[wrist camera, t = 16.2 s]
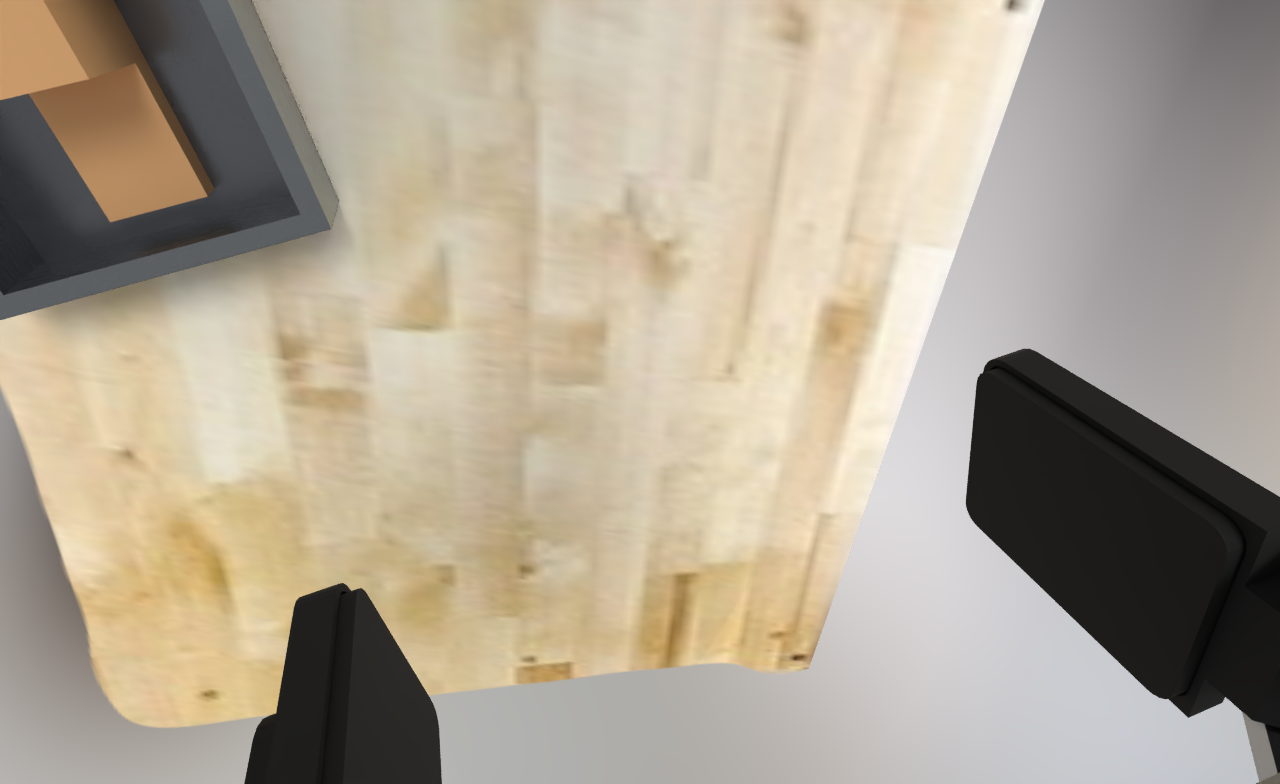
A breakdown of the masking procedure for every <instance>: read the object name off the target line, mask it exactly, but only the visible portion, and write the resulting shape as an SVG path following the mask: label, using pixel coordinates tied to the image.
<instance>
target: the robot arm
mask: <svg viewBox="0 0 1280 784" xmlns="http://www.w3.org/2000/svg"><path fill="white" fill-rule="evenodd" d="M972 430H973V431H972V441H971V451H970V462H969V473H968V484H967V495H966V507H967V511H968V513H969V515H970V517H971V519H972V520H973V521H974V523H975V524H976V525H977V526H978V527H979V528H980V529H981V530H982V531H983V532H984V533H985V534H986V535H987V536H988V537H989V538H990V539H991V540H992V541H993V542H994V543H995V544H996V545H998V547H1000V548H1001V549H1002V550H1003V551H1004V552H1005V553H1006V554H1007V555H1008V556H1009V557H1010V558H1011V559H1012V560H1013V561H1014V562H1015V563H1016V564H1017V565H1018V566H1019V567H1020V568H1021V569H1022V570H1024V572H1026V573H1027V574H1028V575H1029V576H1030V577H1031V578H1032V579H1033V580H1034V581H1035V582H1036V583H1037V584H1038V585H1039V586H1040V587H1041V588H1042V589H1043V590H1044V591H1045V592H1046V593H1047V594H1049V596H1051V597H1052V598H1053V599H1054V600H1055V601H1056V602H1057V603H1058V604H1059V605H1060V606H1061V607H1062V608H1063V609H1064V610H1065V611H1066V612H1067V613H1068V614H1069V615H1070V616H1071V617H1072V618H1073V619H1074V620H1076V621H1077V622H1078V623H1079V624H1080V625H1081V626H1082V627H1083V628H1084V629H1085V630H1086V631H1087V632H1088V633H1089V634H1090V635H1091V636H1092V637H1093V638H1094V639H1095V640H1096V641H1097V642H1098V643H1099V644H1100V645H1102V646H1103V647H1104V648H1105V649H1106V650H1107V651H1108V652H1109V653H1110V654H1111V655H1112V656H1113V657H1114V658H1115V659H1116V660H1117V661H1118V662H1119V663H1120V664H1121V665H1122V666H1123V667H1124V668H1126V670H1128V671H1129V672H1130V673H1131V674H1132V675H1133V676H1134V677H1135V678H1136V679H1137V680H1138V681H1139V682H1140V683H1141V684H1142V685H1143V686H1144V687H1145V688H1146V689H1147V690H1149V691H1150V692H1151V693H1152V694H1154V695H1156V696H1158V697H1159V698H1163V699H1169V700H1170V701H1171V702H1172V703H1173V704H1174V705H1175V706H1177V707H1178V708H1179V709H1180V710H1181V711H1182V712H1183V713H1184V714H1185V715H1186V716H1187V717H1191V716H1193V715H1196V714H1198V713H1200V712H1202V711H1204V710H1207V709H1209V708H1211V707H1213V706H1216V705H1218V704H1220V703H1222V702H1223V700H1224V698H1225V697H1226V698H1227V699H1229V700H1230V701H1231V702H1232V703H1233V704H1234V705H1235V706H1236V707H1238V708H1239V709H1240V710H1241V711H1242V712H1243V717H1244V721H1245V725H1246V729H1247V733H1248V737H1249V741H1250V745H1251V750H1252V753H1253V758H1254V762H1255V766H1256V770H1257V774H1258V778H1259V783H1256V784H1280V497H1279V496H1277V495H1276V494H1274V493H1272V492H1270V491H1269V490H1267V489H1265V488H1264V487H1262V486H1260V485H1259V484H1257V483H1255V482H1254V481H1252V480H1250V479H1249V478H1247V477H1245V476H1244V475H1242V474H1240V473H1239V472H1237V471H1235V470H1234V469H1232V468H1230V467H1229V466H1227V465H1225V464H1223V463H1222V462H1220V461H1219V460H1217V459H1215V458H1213V457H1212V456H1210V455H1209V454H1207V453H1205V452H1204V451H1202V450H1200V449H1199V448H1197V447H1195V446H1193V445H1192V444H1190V443H1188V442H1187V441H1185V440H1183V439H1182V438H1180V437H1178V436H1177V435H1175V434H1173V433H1172V432H1170V431H1168V430H1167V429H1165V428H1163V427H1161V426H1160V425H1158V424H1157V423H1155V422H1153V421H1152V420H1150V419H1148V418H1147V417H1145V416H1143V415H1142V414H1140V413H1138V412H1137V411H1135V410H1133V409H1132V408H1130V407H1128V406H1127V405H1125V404H1123V403H1121V402H1120V401H1118V400H1116V399H1115V398H1113V397H1111V396H1110V395H1108V394H1106V393H1105V392H1103V391H1101V390H1100V389H1098V388H1096V387H1095V386H1093V385H1091V384H1090V383H1088V382H1086V381H1085V380H1083V379H1081V378H1080V377H1078V376H1076V375H1075V374H1073V373H1071V372H1070V371H1068V370H1066V369H1065V368H1063V367H1061V366H1059V365H1058V364H1056V363H1054V362H1053V361H1051V360H1050V359H1048V358H1046V357H1044V356H1043V355H1041V354H1039V353H1038V352H1036V351H1034V350H1031V349H1022V350H1018V351H1016V352H1013V353H1010V354H1007V355H1004V356H1001V357H998V358H996V359H993V360H990V361H989V362H988V363H987V364H986V365H985V367H984V371H983V373H982V374H980V376H979V377H978V380H977V386H976V397H975V409H974V419H973V429H972ZM245 784H442V779H441V759H440V739H439V725H438V719H437V715H436V711H435V708H434V705H433V703H432V701H431V699H430V697H429V696H428V694H427V692H426V691H425V689H424V687H423V686H422V684H421V683H420V681H419V679H418V678H417V676H416V674H415V673H414V671H413V669H412V668H411V666H410V664H409V663H408V661H407V659H406V658H405V656H404V654H403V653H402V651H401V649H400V648H399V646H398V644H397V643H396V641H395V639H394V638H393V636H392V635H391V633H390V631H389V630H388V628H387V626H386V625H385V623H384V621H383V620H382V618H381V616H380V615H379V613H378V611H377V610H376V608H375V606H374V605H373V603H372V601H371V600H370V598H369V596H368V595H367V593H366V592H365V591H364V590H363V589H362V588H359V589H356V590H353V591H351V590H350V589H349V588H348V586H347V585H345V584H344V583H341V584H337V585H334V586H331V587H328V588H326V589H323V590H320V591H317V592H314V593H311V594H308V595H305V596H302V597H299V598H298V600H297V601H296V603H295V606H294V611H293V617H292V623H291V629H290V635H289V641H288V647H287V653H286V659H285V665H284V671H283V677H282V682H281V688H280V694H279V700H278V706H277V712H276V714H273V715H270V716H268V717H266V718H264V719H263V720H262V721H261V723H260V724H259V725H258V727H257V729H256V732H255V735H254V738H253V742H252V747H251V753H250V758H249V763H248V768H247V773H246V779H245Z"/></svg>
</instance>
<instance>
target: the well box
mask: <svg viewBox="0 0 1280 784" xmlns="http://www.w3.org/2000/svg"><path fill="white" fill-rule="evenodd" d="M114 2H115V3H116V5H117V7H118V9H119V11H120V13H121V15H122V16H123V18H124V20H125V22H126V24H127V26H128V28H129V30H130V31H131V33H132V35H133V37H134V39H135V41H136V43H137V45H138V46H139V48H140V50H141V52H142V54H143V56H144V58H145V60H146V61H147V63H148V65H149V67H150V69H151V71H152V73H153V74H154V76H155V78H156V80H157V82H158V84H159V86H160V88H161V89H162V91H163V93H164V95H165V97H166V99H167V101H168V103H169V104H170V106H171V108H172V110H173V112H174V114H175V116H176V118H177V119H178V121H179V123H180V125H181V127H182V129H183V131H184V132H185V134H186V136H187V138H188V140H189V142H190V144H191V146H192V147H193V149H194V151H195V153H196V155H197V157H198V159H199V161H200V162H201V164H202V166H203V168H204V170H205V172H206V174H207V176H208V177H209V179H210V181H211V183H212V185H213V187H214V190H213V191H212V192H211V193H210V194H209V196H208V197H204V198H200V199H196V200H193V201H189V202H185V203H181V204H178V205H174V206H170V207H166V208H162V209H159V210H155V211H151V212H147V213H144V214H140V215H136V216H132V217H129V218H125V219H121V220H117V221H113V222H110V221H109V220H108V218H107V216H106V215H105V213H104V212H103V210H102V209H101V207H100V205H99V204H98V202H97V201H96V199H95V197H94V196H93V194H92V193H91V191H90V190H89V188H88V186H87V185H86V183H85V182H84V180H83V179H82V177H81V175H80V174H79V172H78V171H77V169H76V168H75V166H74V164H73V163H72V161H71V160H70V158H69V157H68V155H67V153H66V152H65V150H64V149H63V147H62V146H61V144H60V142H59V141H58V139H57V138H56V136H55V134H54V133H53V131H52V130H51V128H50V127H49V125H48V123H47V122H46V120H45V119H44V117H43V116H42V114H41V112H40V111H39V109H38V108H37V106H36V105H35V103H34V101H33V100H32V98H31V97H30V95H29V94H24V95H20V96H16V97H12V98H8V99H3V100H0V320H3V319H6V318H10V317H13V316H17V315H21V314H24V313H28V312H32V311H35V310H39V309H42V308H46V307H50V306H53V305H57V304H61V303H64V302H68V301H72V300H75V299H79V298H82V297H86V296H90V295H93V294H97V293H101V292H104V291H108V290H111V289H115V288H119V287H122V286H126V285H130V284H133V283H137V282H141V281H144V280H148V279H151V278H155V277H159V276H162V275H166V274H170V273H173V272H177V271H180V270H184V269H188V268H191V267H195V266H199V265H202V264H206V263H210V262H213V261H217V260H220V259H224V258H228V257H231V256H235V255H239V254H242V253H246V252H249V251H253V250H257V249H260V248H264V247H268V246H271V245H275V244H279V243H282V242H286V241H289V240H293V239H297V238H300V237H304V236H308V235H311V234H315V233H318V232H322V231H326V230H329V229H331V228H332V225H333V221H334V217H335V214H336V210H337V206H338V203H339V200H338V197H337V195H336V193H335V190H334V188H333V186H332V184H331V181H330V179H329V177H328V174H327V172H326V170H325V168H324V165H323V163H322V161H321V158H320V156H319V154H318V152H317V149H316V147H315V145H314V142H313V140H312V138H311V135H310V133H309V131H308V129H307V126H306V124H305V122H304V119H303V117H302V115H301V113H300V110H299V108H298V106H297V103H296V101H295V99H294V97H293V94H292V92H291V90H290V87H289V85H288V83H287V81H286V78H285V76H284V74H283V71H282V69H281V67H280V64H279V62H278V60H277V58H276V55H275V53H274V51H273V48H272V46H271V44H270V42H269V39H268V37H267V35H266V32H265V30H264V28H263V26H262V23H261V21H260V19H259V16H258V14H257V12H256V9H255V7H254V5H253V3H252V0H114Z"/></svg>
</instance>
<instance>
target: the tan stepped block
mask: <svg viewBox="0 0 1280 784" xmlns="http://www.w3.org/2000/svg"><path fill="white" fill-rule="evenodd" d="M24 94H29V95H30V97H31V98H32V100H33V101H34V103H35V105H36V106H37V108H38V109H39V111H40V112H41V114H42V116H43V117H44V119H45V120H46V122H47V123H48V125H49V127H50V128H51V130H52V131H53V133H54V134H55V136H56V138H57V139H58V141H59V142H60V144H61V146H62V147H63V149H64V150H65V152H66V153H67V155H68V157H69V158H70V160H71V161H72V163H73V164H74V166H75V168H76V169H77V171H78V172H79V174H80V175H81V177H82V179H83V180H84V182H85V183H86V185H87V186H88V188H89V190H90V191H91V193H92V194H93V196H94V197H95V199H96V201H97V202H98V204H99V205H100V207H101V209H102V210H103V212H104V213H105V215H106V216H107V218H108V220H109V221H110V222H113V221H117V220H121V219H125V218H129V217H132V216H136V215H140V214H144V213H147V212H151V211H155V210H159V209H162V208H166V207H170V206H174V205H178V204H181V203H185V202H189V201H193V200H196V199H200V198H204V197H208V196H209V194H210V193H211V192H212V191H213V190H214V187H213V185H212V183H211V181H210V179H209V177H208V176H207V174H206V172H205V170H204V168H203V166H202V164H201V162H200V161H199V159H198V157H197V155H196V153H195V151H194V149H193V147H192V146H191V144H190V142H189V140H188V138H187V136H186V134H185V132H184V131H183V129H182V127H181V125H180V123H179V121H178V119H177V118H176V116H175V114H174V112H173V110H172V108H171V106H170V104H169V103H168V101H167V99H166V97H165V95H164V93H163V91H162V89H161V88H160V86H159V84H158V82H157V80H156V78H155V76H154V74H153V73H152V71H151V69H150V67H149V65H148V63H147V61H146V60H145V58H144V56H143V54H142V52H141V50H140V48H139V46H138V45H137V43H136V41H135V39H134V37H133V35H132V33H131V31H130V30H129V28H128V26H127V24H126V22H125V20H124V18H123V16H122V15H121V13H120V11H119V9H118V7H117V5H116V3H115V2H114V0H0V100H3V99H8V98H12V97H16V96H20V95H24Z"/></svg>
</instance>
